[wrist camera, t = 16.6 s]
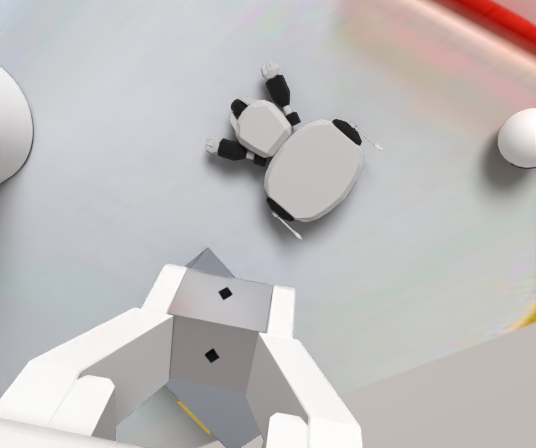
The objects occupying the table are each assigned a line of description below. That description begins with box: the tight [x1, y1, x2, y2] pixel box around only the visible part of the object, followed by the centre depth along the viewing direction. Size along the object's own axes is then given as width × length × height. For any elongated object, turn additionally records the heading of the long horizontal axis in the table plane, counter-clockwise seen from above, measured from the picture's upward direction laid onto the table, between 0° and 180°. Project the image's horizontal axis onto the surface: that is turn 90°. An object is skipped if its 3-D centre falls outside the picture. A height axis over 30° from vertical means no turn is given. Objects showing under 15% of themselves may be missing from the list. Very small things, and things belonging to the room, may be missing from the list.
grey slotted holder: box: [140, 248, 261, 448], centre depth 47 cm, size 9×17×10 cm, turn 41°
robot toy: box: [205, 61, 383, 239], centre depth 44 cm, size 12×4×15 cm
